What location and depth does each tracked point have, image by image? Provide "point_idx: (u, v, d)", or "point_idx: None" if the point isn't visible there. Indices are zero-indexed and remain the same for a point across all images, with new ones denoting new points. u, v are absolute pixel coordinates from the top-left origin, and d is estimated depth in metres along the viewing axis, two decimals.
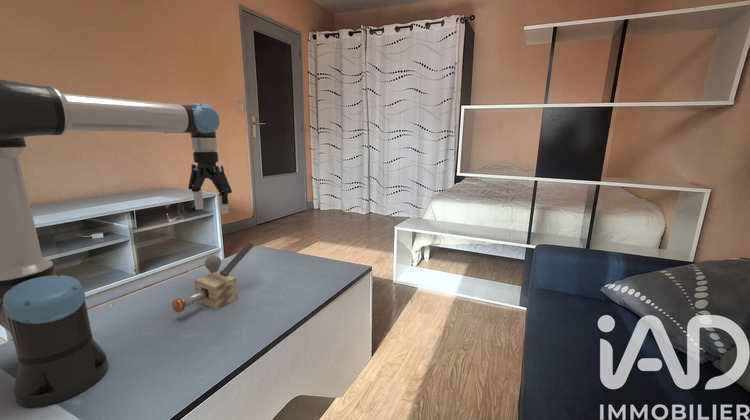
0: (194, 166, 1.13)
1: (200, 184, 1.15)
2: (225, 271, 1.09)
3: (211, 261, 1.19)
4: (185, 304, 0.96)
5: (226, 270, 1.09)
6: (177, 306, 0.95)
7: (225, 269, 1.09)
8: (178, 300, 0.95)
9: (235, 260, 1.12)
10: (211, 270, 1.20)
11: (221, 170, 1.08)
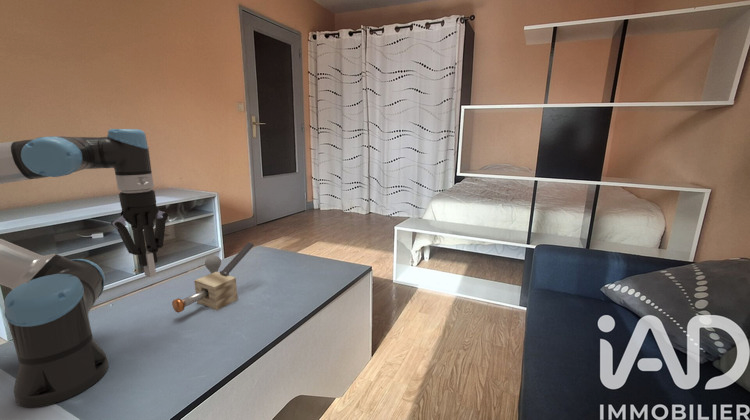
0: None
1: (148, 239, 0.86)
2: (225, 271, 1.09)
3: (211, 261, 1.19)
4: (185, 304, 0.96)
5: (226, 270, 1.09)
6: (177, 306, 0.95)
7: (225, 269, 1.09)
8: (178, 300, 0.95)
9: (235, 260, 1.12)
10: (211, 270, 1.20)
11: (118, 228, 0.79)
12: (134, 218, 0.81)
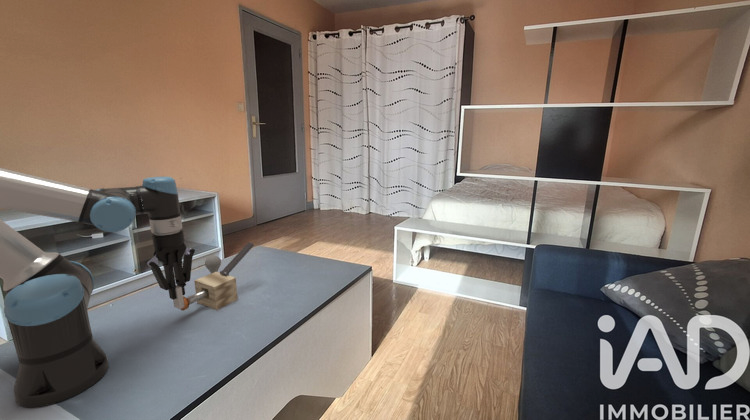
0: None
1: (177, 274, 0.94)
2: (225, 271, 1.09)
3: (211, 261, 1.19)
4: (190, 302, 0.98)
5: (226, 270, 1.09)
6: None
7: (225, 269, 1.09)
8: (183, 298, 0.96)
9: (235, 260, 1.12)
10: (211, 270, 1.20)
11: (152, 267, 0.87)
12: (165, 257, 0.90)
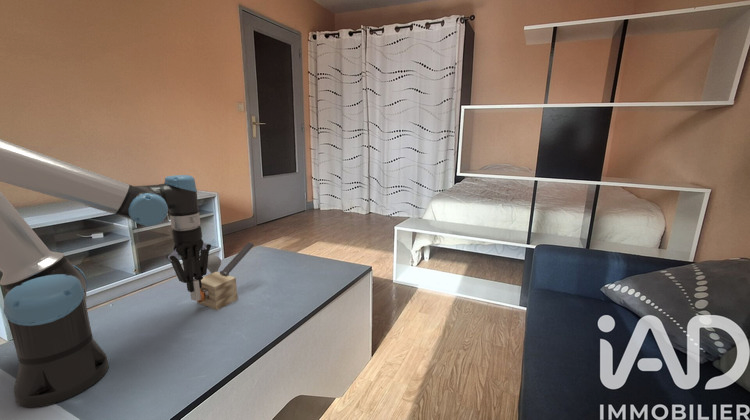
0: None
1: (195, 268, 0.99)
2: (225, 271, 1.09)
3: (211, 261, 1.19)
4: (206, 294, 1.02)
5: (226, 270, 1.09)
6: None
7: (225, 269, 1.09)
8: (200, 291, 1.01)
9: (235, 260, 1.12)
10: (211, 270, 1.20)
11: (172, 260, 0.92)
12: (185, 251, 0.94)
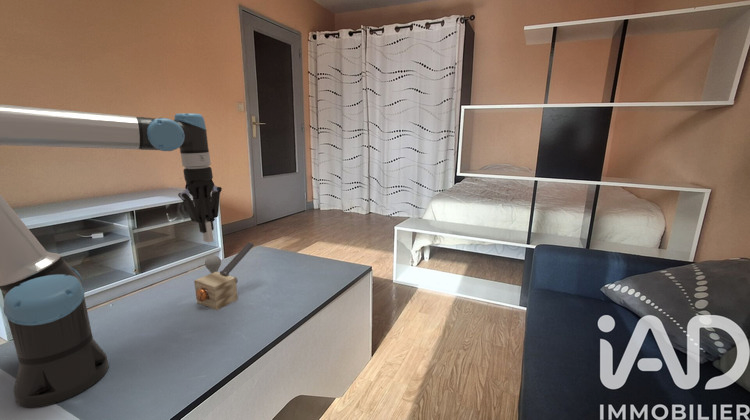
0: None
1: (206, 209, 1.00)
2: (225, 271, 1.09)
3: (211, 261, 1.19)
4: (208, 294, 1.03)
5: (226, 270, 1.09)
6: (201, 295, 1.01)
7: (225, 269, 1.09)
8: (202, 290, 1.01)
9: (235, 260, 1.12)
10: (211, 270, 1.20)
11: (184, 198, 0.93)
12: (196, 190, 0.95)
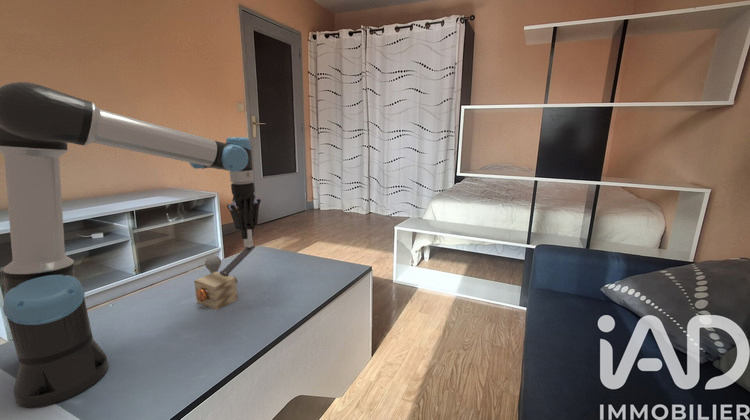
0: None
1: (248, 218, 1.15)
2: (225, 271, 1.09)
3: (211, 261, 1.19)
4: (208, 294, 1.03)
5: (226, 270, 1.09)
6: (201, 295, 1.01)
7: (225, 269, 1.09)
8: (202, 290, 1.01)
9: (236, 261, 1.12)
10: (211, 270, 1.20)
11: (232, 209, 1.08)
12: (241, 203, 1.10)
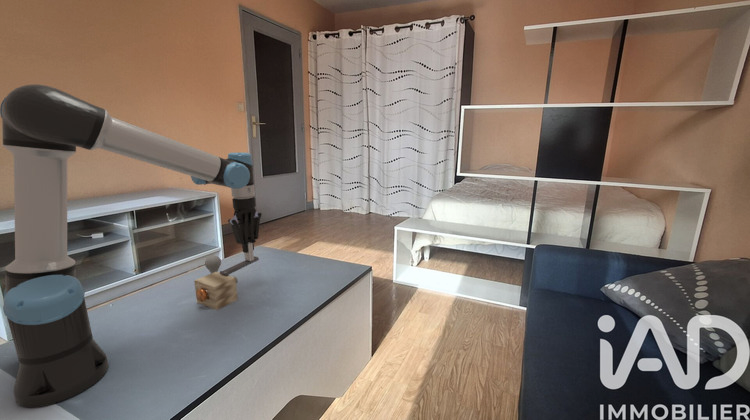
0: None
1: (249, 232, 1.16)
2: (226, 271, 1.09)
3: (211, 261, 1.19)
4: (208, 294, 1.03)
5: (227, 271, 1.09)
6: (201, 295, 1.01)
7: (226, 270, 1.10)
8: (202, 290, 1.01)
9: (238, 265, 1.13)
10: (211, 270, 1.20)
11: (233, 224, 1.09)
12: (242, 217, 1.12)
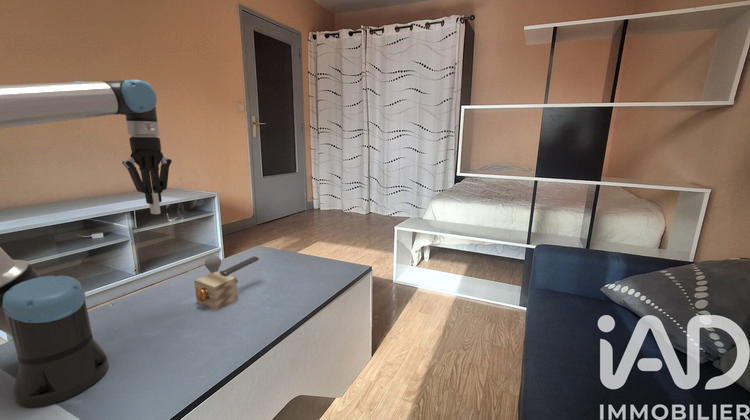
0: None
1: (154, 180, 0.98)
2: (226, 271, 1.09)
3: (211, 261, 1.19)
4: (208, 294, 1.03)
5: (227, 271, 1.09)
6: (201, 295, 1.01)
7: (226, 270, 1.10)
8: (202, 290, 1.01)
9: (238, 265, 1.13)
10: (211, 270, 1.20)
11: (128, 166, 0.92)
12: (142, 160, 0.94)
